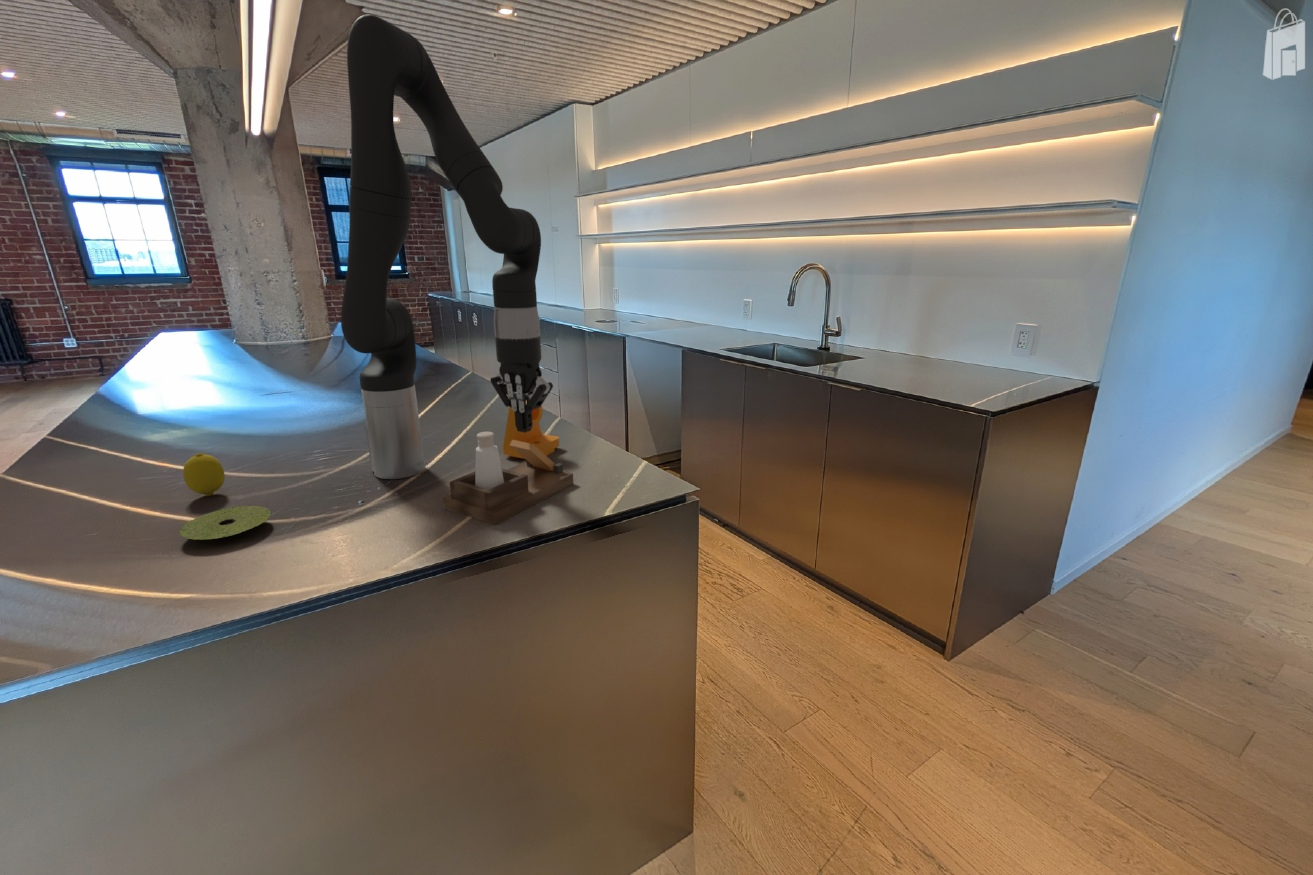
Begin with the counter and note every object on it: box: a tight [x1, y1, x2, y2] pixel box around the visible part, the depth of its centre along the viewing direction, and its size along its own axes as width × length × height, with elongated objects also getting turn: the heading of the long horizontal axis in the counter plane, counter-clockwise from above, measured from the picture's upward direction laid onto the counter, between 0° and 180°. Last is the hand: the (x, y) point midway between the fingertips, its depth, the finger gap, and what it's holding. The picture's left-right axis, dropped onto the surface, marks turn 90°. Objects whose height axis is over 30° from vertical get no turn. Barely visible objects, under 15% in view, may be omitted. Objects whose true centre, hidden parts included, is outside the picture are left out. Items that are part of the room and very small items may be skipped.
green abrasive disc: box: [179, 505, 272, 541], centre depth 86 cm, size 11×11×2 cm
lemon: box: [182, 452, 226, 497], centre depth 98 cm, size 6×6×8 cm
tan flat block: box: [510, 440, 557, 471], centre depth 104 cm, size 5×9×1 cm
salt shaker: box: [475, 431, 504, 490], centre depth 94 cm, size 5×5×11 cm
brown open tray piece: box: [442, 460, 574, 526], centre depth 100 cm, size 12×20×5 cm, turn 150°
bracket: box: [502, 400, 560, 460], centre depth 120 cm, size 11×7×12 cm, turn 155°
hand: (524, 430), depth 101 cm, fingers closed
